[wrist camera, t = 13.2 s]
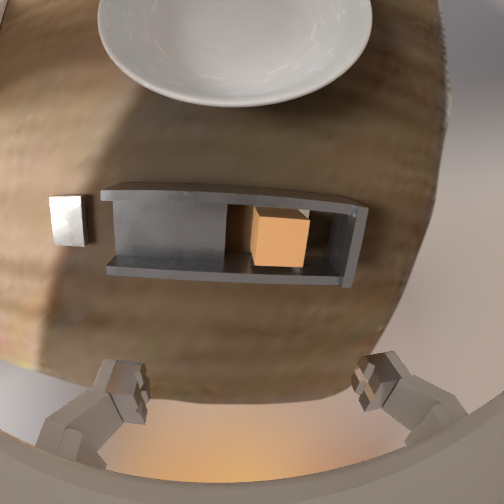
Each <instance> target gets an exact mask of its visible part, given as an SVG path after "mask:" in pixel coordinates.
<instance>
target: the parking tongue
mask: <svg viewBox="0 0 504 504" xmlns="http://www.w3.org/2000/svg"><path fill="white" fill-rule="evenodd" d="M50 209H51V220H52V229H53V237H54V245H64V246H83V247H85V246H86V245H87V244H88V243H89V241H88V230H87V218H86V201H85V194H80V195H55V196H52V197H50Z"/></svg>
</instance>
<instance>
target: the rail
mask: <svg viewBox="0 0 504 504" xmlns="http://www.w3.org/2000/svg"><path fill="white" fill-rule="evenodd" d="M101 201H113V217H114V234H115V247H116V256H115V257H114V258H113V259H112V260H111V261H110V262H109V263H108V264H107V266H106V268H107V275H119V276H132V277H146V278H161V279H178V280H196V281H216V282H240V283H269V284H313V285H340V286H341V287H346V288H351V287H352V283H353V279H354V275H355V271H356V267H357V263H358V258H359V254H360V249H361V245H362V240H363V235H364V231H365V225H366V220H367V215H368V209H369V208H368V207H366V206H364V205H361V204H359V203H357V202H355V201H353V200H351V199H349V198H346V197H344V196H336V195H328V194H320V193H312V192H303V191H293V190H283V189H272V188H260V187H246V186H231V185H213V184H190V183H119V184H116V185H113V186H111V187H108V188H106V189H103V190H101ZM227 204H238V205H253V206H263V207H277V208H289V209H298V210H299V211H300V212H301V213H302V214H303V215H305V216H306V217H307V218H309V211H310V210H314V211H324V212H332V217H331V223H330V229H329V235H328V241H327V246H326V252H325V257H313V256H304V262H303V267H283V266H258V265H254V261H253V257H252V254H250V253H251V249H250V253H230V252H224V251H225V234H226V218H227ZM253 213H254V208H253ZM252 224H253V219H252ZM251 235H252V230H251ZM250 246H251V241H250Z"/></svg>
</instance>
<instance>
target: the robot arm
mask: <svg viewBox="0 0 504 504" xmlns="http://www.w3.org/2000/svg"><path fill="white" fill-rule="evenodd" d="M7 1H8V0H0V25H1V21H2V17H3V14H4V10H5V7H6V4H7ZM357 364H358V366H359V367H358V368H357V369H356V370H355V371H354V372H353V375H352V387H353V389H354V392H355V393H357V394H358V395H360V397H359V402H360V404H361V406H362V408H363V410H364V412H366V411H371V410H375V409H379V408H382V410H384V411H385V412H386V413H388V414H389V415H390V416H392V417H393V418H394V419H396V420H397V421H398V422H400V423H401V424H402V425H404V426H405V427H406V428H408V429H409V430H410V431H412V432H411V433H410V434H409V435H408V437H407V438H406V439H405V443H406V445H407V446H405V447H402V448H400V449H397V450H395V451H392V452H389V453H387V454H384V455H381V456H378V457H375V458H372V459H369V460H366V461H362V462H359V463H356V464H352V465H349V466H345V467H341V468H337V469H333V470H329V471H324V472H319V473H314V474H310V475H304V476H298V477H291V478H284V479H276V480H267V481H255V482H238V483H198V482H181V481H169V480H160V479H152V478H145V477H139V476H133V475H128V474H122V473H118V472H113V471H109V470H106V465H107V464H106V463H105V461H104V460H103V459H102V458H101V457H100V456H99V454H98V453H97V451H98V449H99V448H100V447H101V446H102V445H103V444H104V443H105V442H106V441H107V440H108V439H109V438H110V437H111V436H112V435H113V434H114V433H115V432H116V431H117V430H118V428H119V427H120V426H121V425H122V424H123V422H127V423H134V424H144V425H145V422H146V416H147V408H146V405H145V404H147V403H148V402H149V399H150V382H149V378H148V377H147V376H146V367H145V364H144V363H139V362H131V361H124V360H116V359H110V358H105V359H104V360H103V362H102V364H101V367H100V369H99V372H98V374H97V377H96V380H95V382H94V385H93V387H92V390H91V389H88V390H86V391H85V392H83V393H82V394H80V395H79V396H78V397H76V398H75V399H74V400H72V401H71V402H69V403H68V404H66V405H65V406H63V407H62V408H61V409H59V410H58V411H57V412H55V413H53V414H52V415H51V416H49V417H48V418H46V419H45V422H44V424H43V427H42V429H41V432H40V435H39V437H38V440H37V443H36V445H35V446H33V445H31V444H29V443H27V442H24V441H22V440H20V439H18V438H16V437H14V436H12V435H10V434H8V433H6V432H4V431H2V430H1V429H0V504H504V391H503V392H502V393H500V394H499V395H498V396H496V397H495V398H493V399H492V400H490V401H489V402H487V403H486V404H485V405H483V406H481V407H480V408H478V409H477V410H475V411H474V412H472V413H470V414H469V415H468V414H467V412H466V411H465V409H464V408H463V406H462V405H461V404H460V403H459V401H458V399H457V398H456V397H455V395H453V394H450V393H449V392H447V391H445V390H442V389H440V388H439V387H437V386H435V385H433V384H431V383H429V382H427V381H425V380H423V379H421V378H419V377H417V376H415V375H413V376H412V375H411V374H410V372H409V371H408V370H407V368H406V367H405V365H404V364H403V363H402V361H401V360H400V358H399V357H398V356H397V355H396V353H395V352H394V351H389V352H384V353H378V354H373V355H367V356H362V357H361V358H360V359H359V361H358V363H357Z"/></svg>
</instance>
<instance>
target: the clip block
mask: <svg viewBox="0 0 504 504" xmlns="http://www.w3.org/2000/svg"><path fill="white" fill-rule="evenodd" d="M309 224H310V220H309V219H308V218H307V217H306V216H305V215H303V214H302V213H301V212H300V211H299V210H298V209H289V208H277V207H263V206H254V213H253V224H252V235H251V246H250V249H251V253H252V257H253V261H254V265H258V266H283V267H303V262H304V256H305V250H306V244H307V238H308V231H309Z"/></svg>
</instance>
